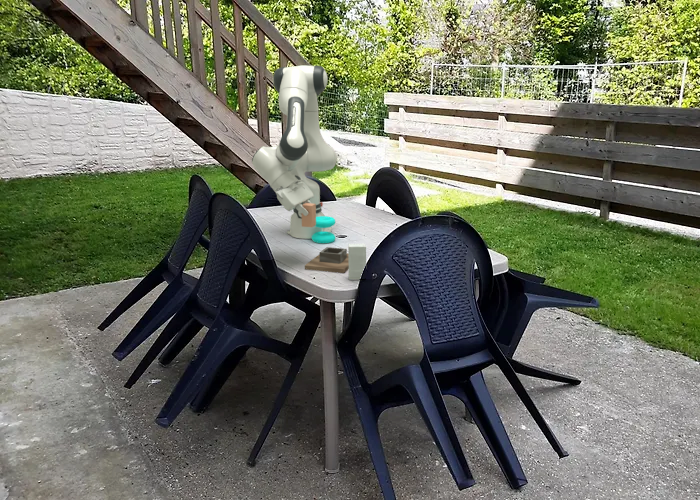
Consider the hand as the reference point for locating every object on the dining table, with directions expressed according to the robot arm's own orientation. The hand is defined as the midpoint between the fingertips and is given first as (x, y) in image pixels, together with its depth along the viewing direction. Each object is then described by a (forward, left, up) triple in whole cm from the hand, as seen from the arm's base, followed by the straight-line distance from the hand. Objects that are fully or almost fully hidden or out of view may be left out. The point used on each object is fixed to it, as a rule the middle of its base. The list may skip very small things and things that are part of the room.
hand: (310, 213), depth 233 cm
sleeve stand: (-2, +8, -19) cm, 21 cm away
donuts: (-32, -7, -19) cm, 38 cm away
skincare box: (+12, +21, -19) cm, 31 cm away
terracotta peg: (0, -1, -5) cm, 5 cm away
